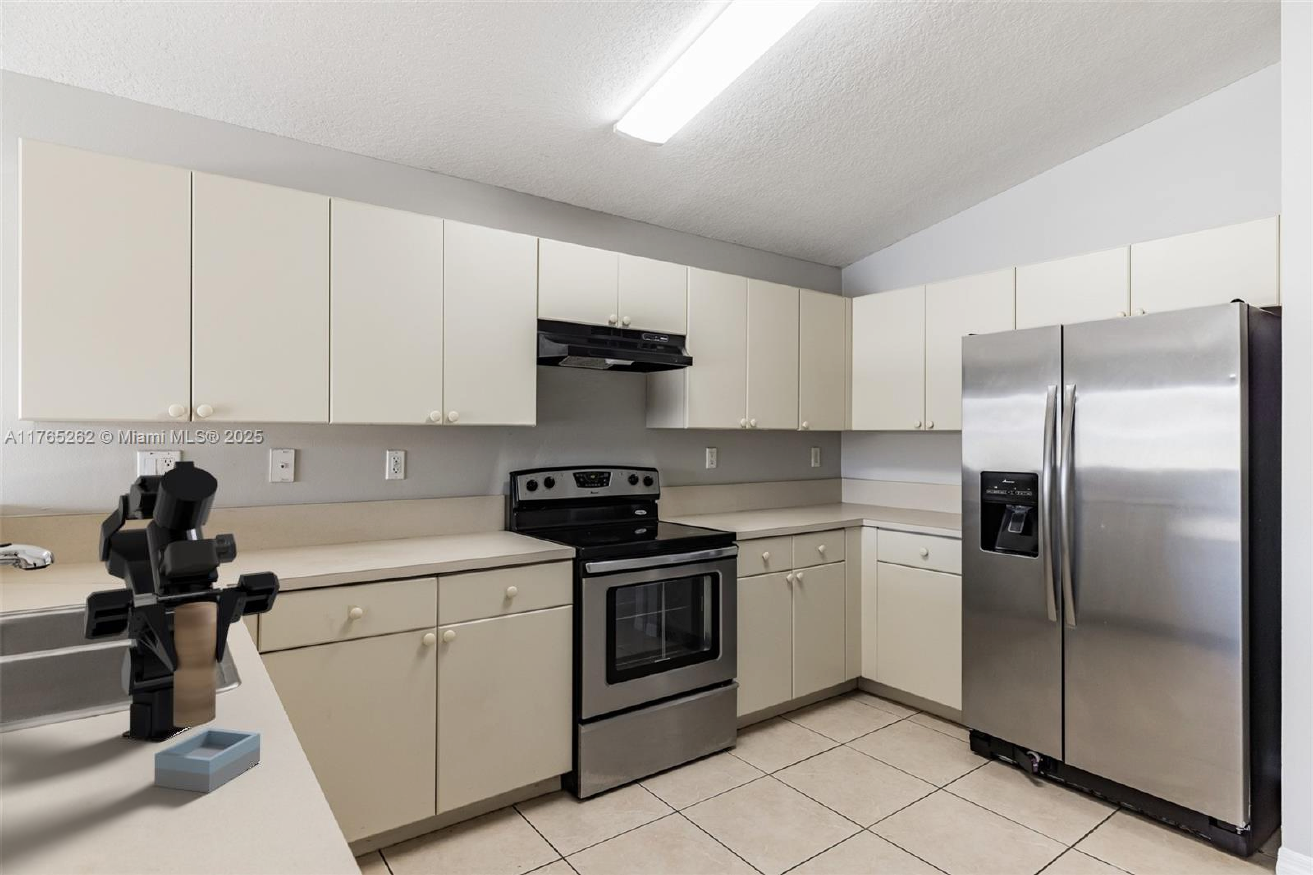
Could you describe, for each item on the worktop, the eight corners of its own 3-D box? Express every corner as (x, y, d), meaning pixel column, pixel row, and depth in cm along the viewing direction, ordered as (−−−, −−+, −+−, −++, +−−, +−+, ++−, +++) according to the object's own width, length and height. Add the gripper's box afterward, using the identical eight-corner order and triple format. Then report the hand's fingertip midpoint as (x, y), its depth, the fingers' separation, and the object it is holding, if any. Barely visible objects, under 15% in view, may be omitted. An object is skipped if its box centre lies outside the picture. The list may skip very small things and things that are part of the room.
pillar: (180, 715, 80) (181, 603, 80) (219, 711, 82) (220, 601, 82) (167, 729, 76) (168, 611, 76) (209, 724, 78) (210, 609, 78)
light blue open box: (208, 756, 84) (209, 727, 84) (259, 762, 82) (260, 733, 82) (154, 785, 77) (154, 754, 77) (209, 793, 75) (209, 760, 75)
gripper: (87, 518, 75) (98, 642, 67) (275, 507, 88) (303, 610, 80) (79, 580, 81) (89, 700, 73) (258, 561, 94) (282, 661, 86)
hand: (198, 665), depth 78 cm, fingers closed on pillar, 4 cm apart
